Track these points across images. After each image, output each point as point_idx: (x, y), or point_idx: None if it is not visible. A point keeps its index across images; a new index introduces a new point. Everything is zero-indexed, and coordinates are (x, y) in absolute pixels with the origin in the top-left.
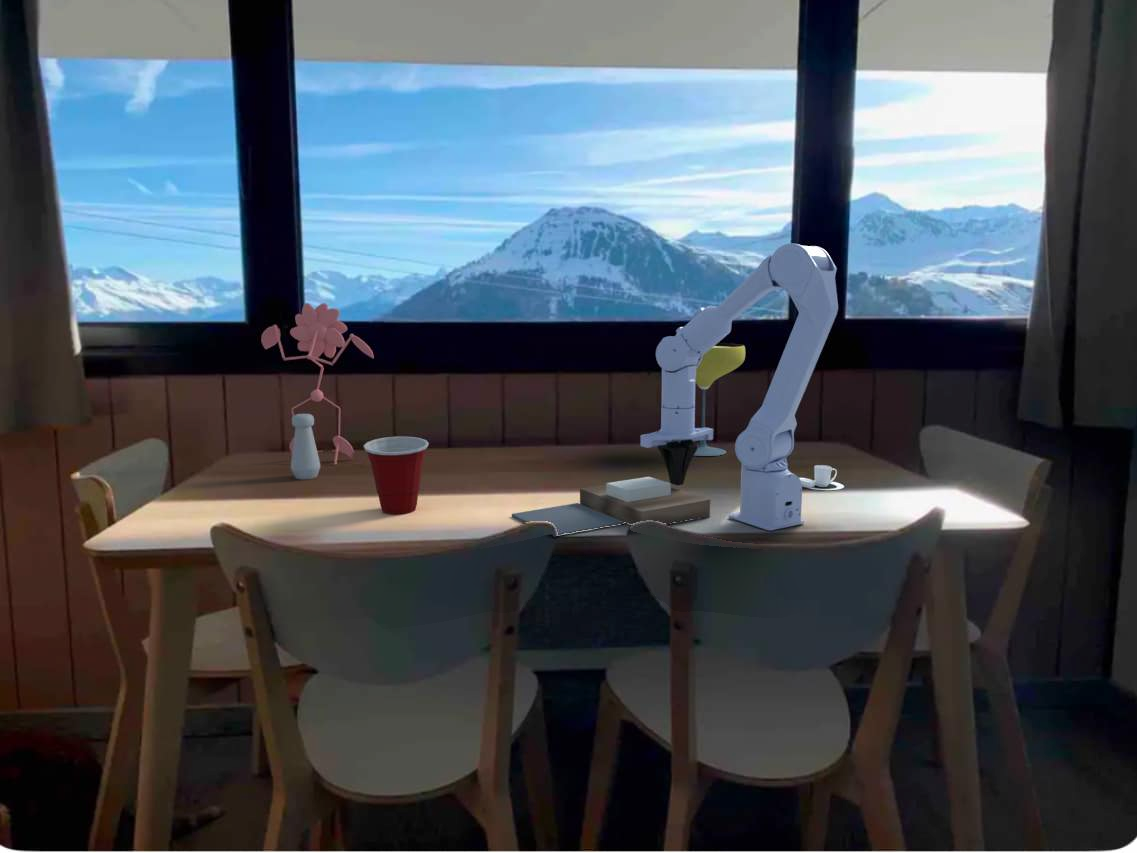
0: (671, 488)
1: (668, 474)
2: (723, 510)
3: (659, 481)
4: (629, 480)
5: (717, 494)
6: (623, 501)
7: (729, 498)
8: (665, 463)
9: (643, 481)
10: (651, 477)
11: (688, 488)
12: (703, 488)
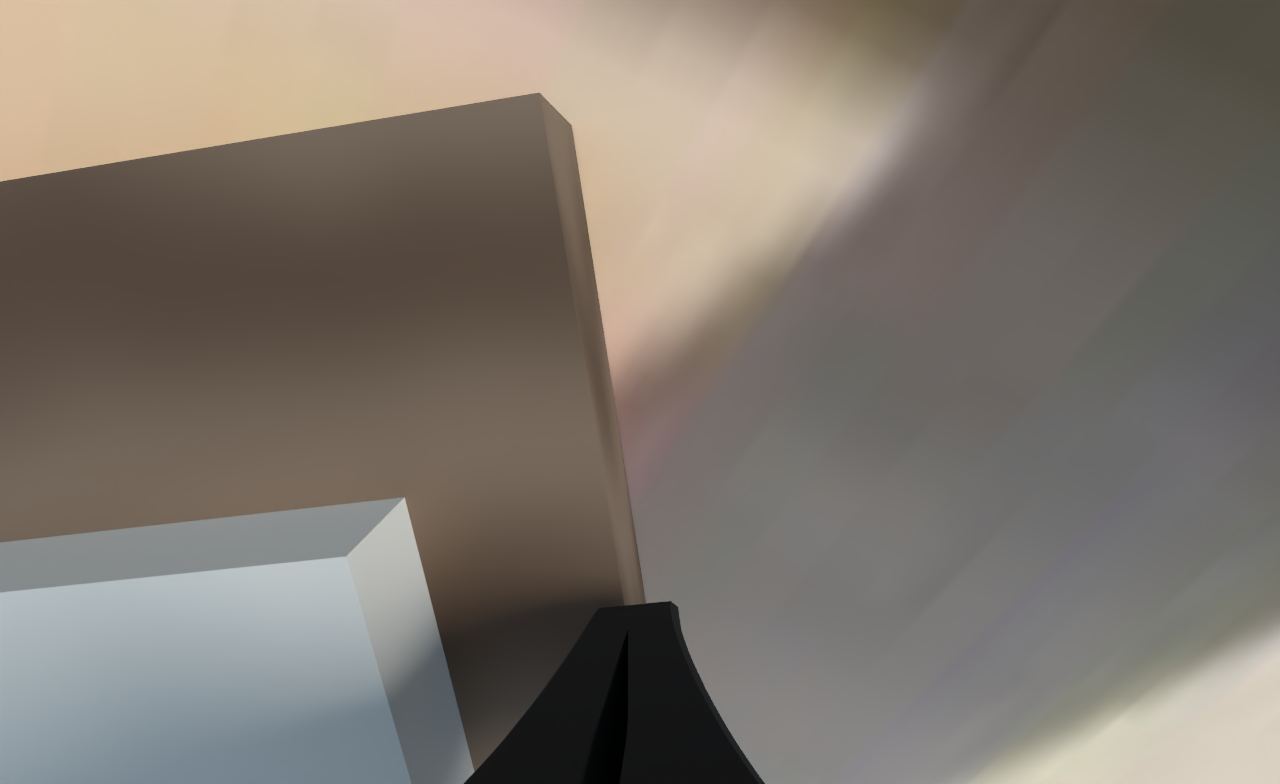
0: (597, 608)
1: (566, 656)
2: (869, 775)
3: (365, 778)
4: (66, 619)
5: (1184, 400)
6: None
7: (1162, 550)
8: (485, 765)
9: (201, 716)
10: (357, 603)
11: (1128, 67)
12: (1260, 137)
